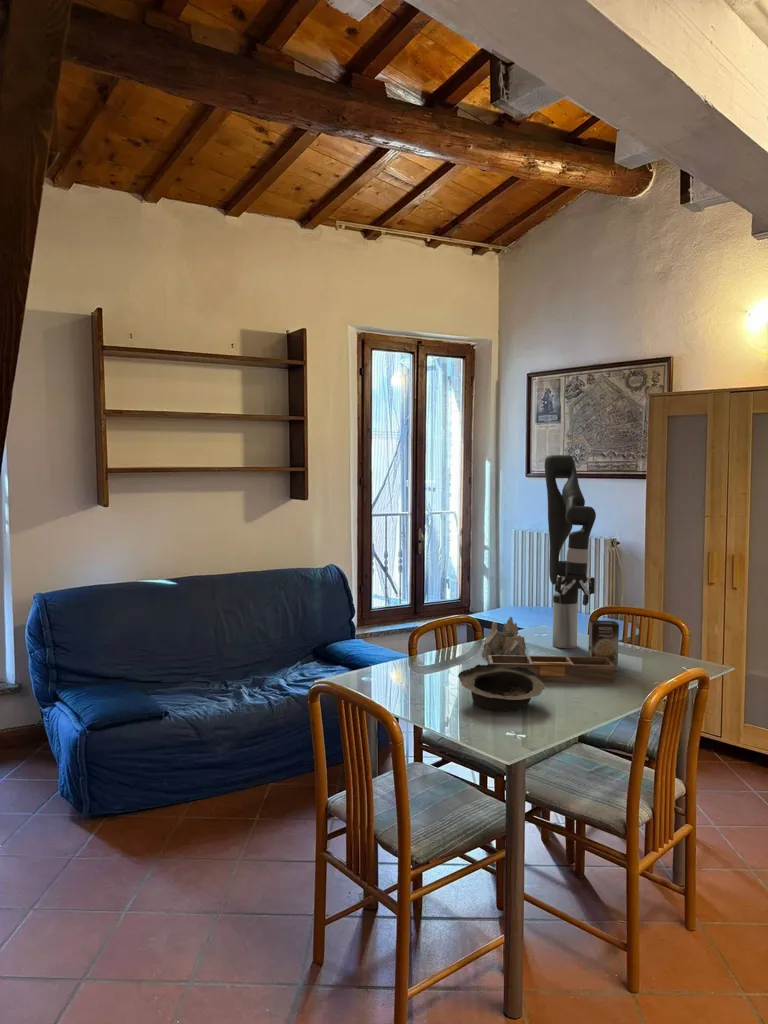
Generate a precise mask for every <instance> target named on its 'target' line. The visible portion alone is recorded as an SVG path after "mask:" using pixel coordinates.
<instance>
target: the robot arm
mask: <svg viewBox="0 0 768 1024" xmlns="http://www.w3.org/2000/svg"><path fill="white" fill-rule="evenodd" d="M544 475H545V482H546V483H545V484H546V493H547V523H548V524H547V525H548V537H549V559H548V560H549V563H548V568H549V570H548V573H549V580H550V582H551V584H552V585H554V591H555V592H556V593H554V594H553V595H552V596H553V597H552V646H553V647H555V648H559V649H575V648H577V646H578V607H579V605H578V602H579V601H578V599H579V598H578V597H579V589H580V590H581V591H582V593H583V596H582V605H583V606H587V605H588V604H589V599H590V595H593V594H595V588H596V587H595V582H596V579H595V577H593V576H589V577H588V576H587V573H588V562H589V540H590V536H591V533H592V529H593V527H594V525H595V522H596V518H597V514H596V510H595V509H594V508H593V507H592V506H590V505H589V506H585V505H586V502H585V501H586V500H585V498H584V495H583V492H582V491H581V487H580V484H579V480H578V473H577V468H576V463H575V460H574V459H573V457H572V456H571V455H568V454H549V455H547V456H546V457H545V460H544ZM556 479H567V480H566V483H565V484H564V485H563V487H562V491H560V489H559V486H558V484H557V480H556ZM573 526H581V528H580V529H579V530H577V531H572V529H573ZM567 538H568V545H567V551H566V557H565V558H566V560H560V553H561V550H562V548H563V545H564V544H565V542H566V540H567ZM586 583H588V588H587V586H586Z"/></svg>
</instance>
